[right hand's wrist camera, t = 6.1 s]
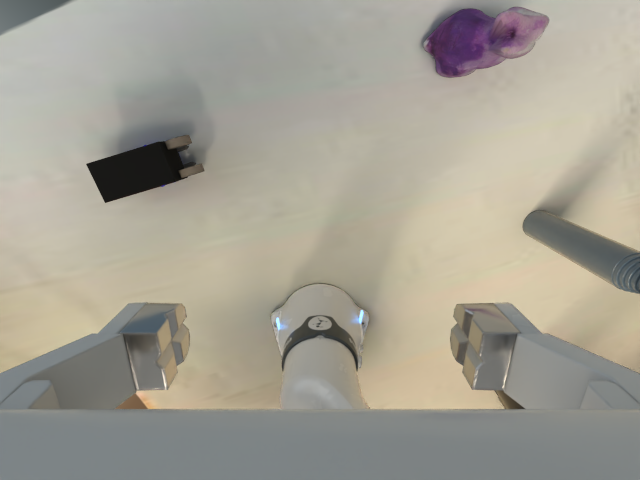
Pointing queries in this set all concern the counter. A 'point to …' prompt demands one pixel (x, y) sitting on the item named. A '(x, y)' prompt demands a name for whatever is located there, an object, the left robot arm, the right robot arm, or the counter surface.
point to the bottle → (587, 249)
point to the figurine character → (142, 169)
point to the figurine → (483, 39)
